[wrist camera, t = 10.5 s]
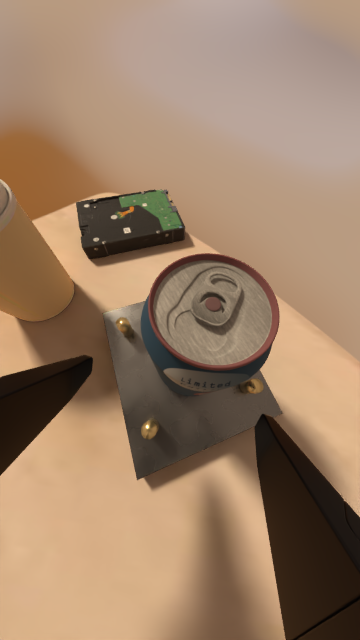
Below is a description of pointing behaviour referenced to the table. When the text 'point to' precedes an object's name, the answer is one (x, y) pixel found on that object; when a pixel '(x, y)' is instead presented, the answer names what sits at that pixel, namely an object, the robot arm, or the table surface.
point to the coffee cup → (28, 266)
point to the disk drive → (128, 223)
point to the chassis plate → (174, 402)
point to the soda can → (208, 323)
